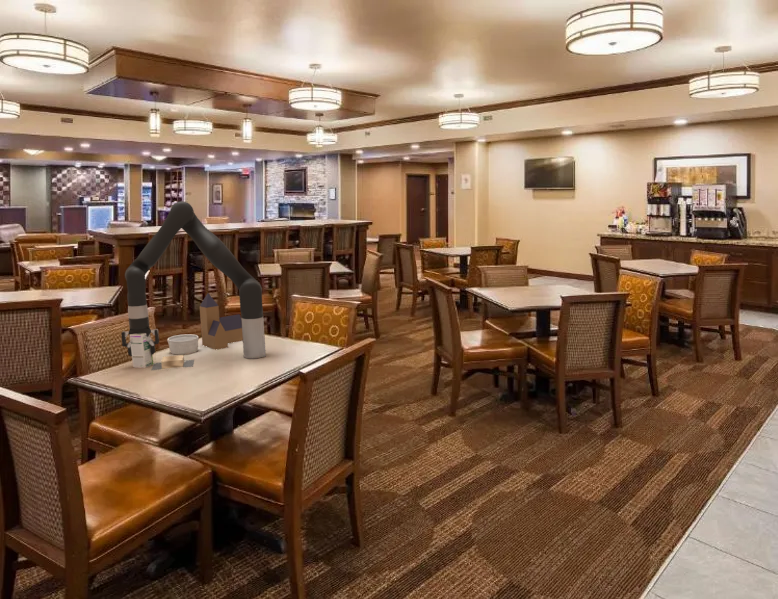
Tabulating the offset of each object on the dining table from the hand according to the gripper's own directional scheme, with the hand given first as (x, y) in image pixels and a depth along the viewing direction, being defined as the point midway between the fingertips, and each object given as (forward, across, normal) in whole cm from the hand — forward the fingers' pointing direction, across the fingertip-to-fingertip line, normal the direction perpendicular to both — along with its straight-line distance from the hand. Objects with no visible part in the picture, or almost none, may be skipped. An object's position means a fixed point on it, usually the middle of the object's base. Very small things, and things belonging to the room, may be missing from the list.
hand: (142, 355), depth 243 cm
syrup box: (+5, 0, 0) cm, 5 cm away
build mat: (+5, -12, +3) cm, 13 cm away
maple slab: (+4, -12, +4) cm, 13 cm away
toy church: (+5, -34, -29) cm, 45 cm away
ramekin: (+5, -15, -19) cm, 25 cm away
